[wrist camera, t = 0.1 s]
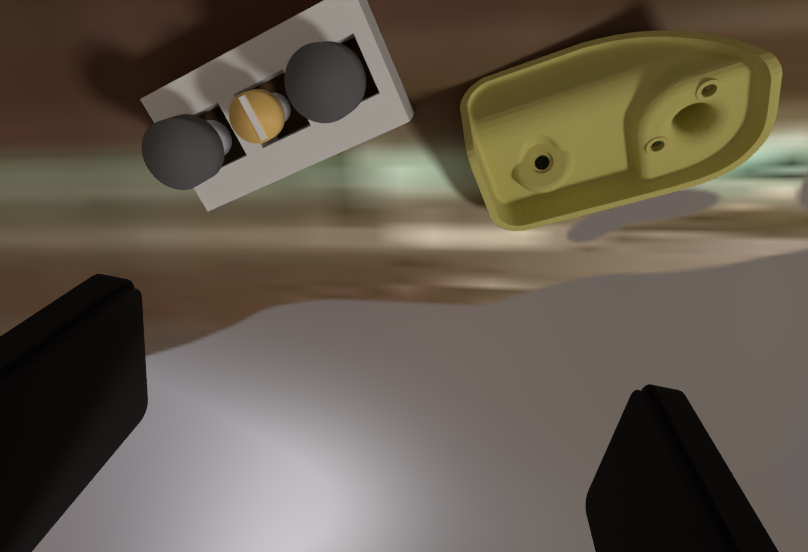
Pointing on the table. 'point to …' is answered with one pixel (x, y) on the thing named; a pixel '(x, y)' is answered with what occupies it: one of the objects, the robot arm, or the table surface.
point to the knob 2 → (325, 81)
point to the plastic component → (616, 122)
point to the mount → (268, 59)
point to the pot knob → (258, 115)
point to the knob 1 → (185, 150)
